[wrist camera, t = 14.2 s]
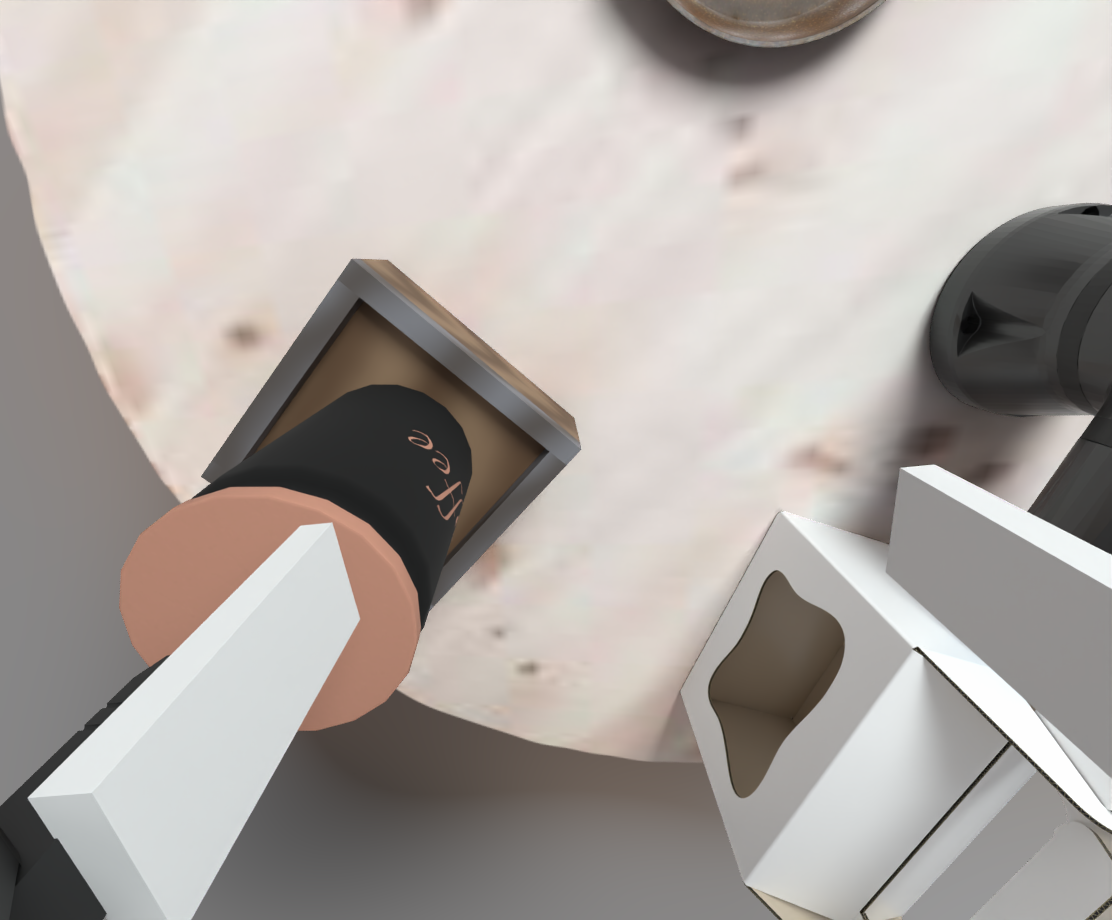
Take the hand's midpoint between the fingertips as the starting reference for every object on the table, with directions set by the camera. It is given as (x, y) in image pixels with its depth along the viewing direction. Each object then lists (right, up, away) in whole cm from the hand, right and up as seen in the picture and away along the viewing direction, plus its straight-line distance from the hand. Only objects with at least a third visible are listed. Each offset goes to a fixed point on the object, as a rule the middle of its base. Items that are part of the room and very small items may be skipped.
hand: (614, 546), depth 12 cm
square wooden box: (-13, +5, +29) cm, 32 cm away
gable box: (+21, -14, +38) cm, 45 cm away
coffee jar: (-12, +2, +24) cm, 27 cm away
